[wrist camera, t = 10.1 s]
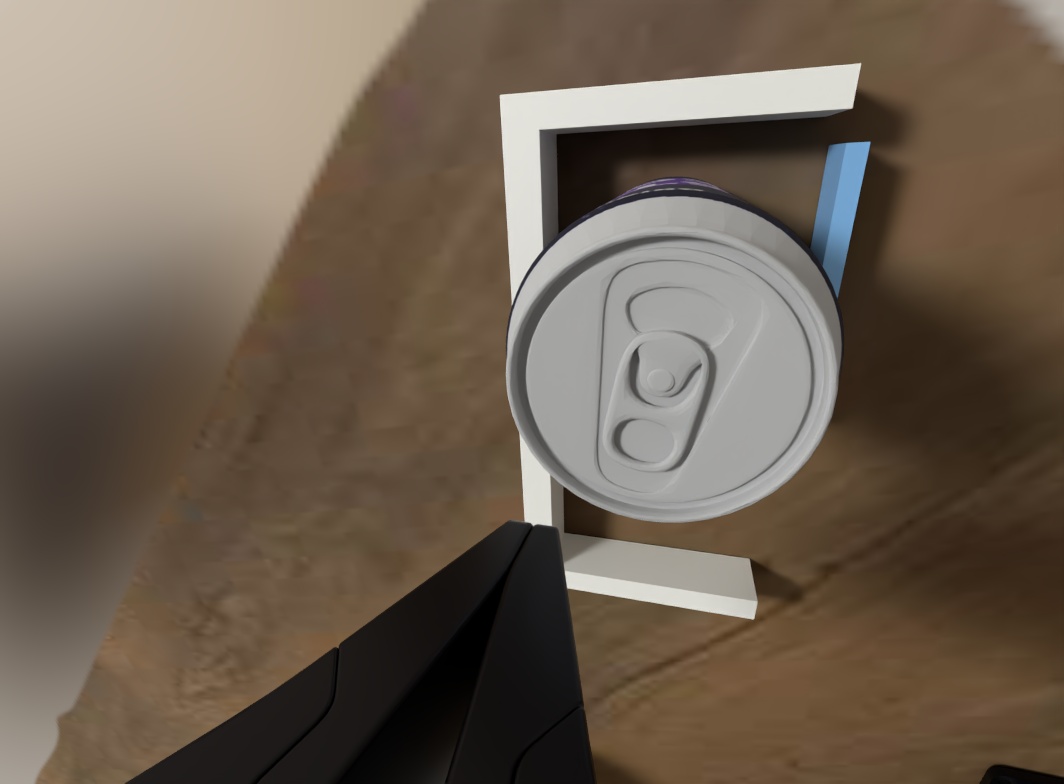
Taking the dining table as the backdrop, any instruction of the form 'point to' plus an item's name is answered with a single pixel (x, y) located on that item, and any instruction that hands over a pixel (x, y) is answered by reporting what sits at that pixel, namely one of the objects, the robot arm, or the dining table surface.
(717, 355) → the beverage can
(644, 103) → the white open frame
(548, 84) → the dining table surface
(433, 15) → the dining table surface
